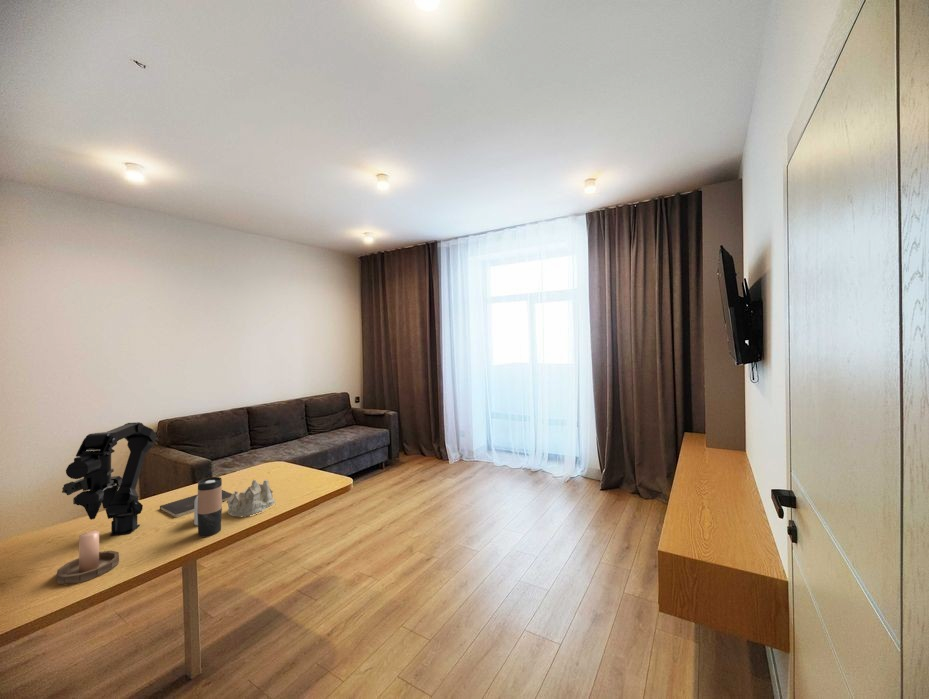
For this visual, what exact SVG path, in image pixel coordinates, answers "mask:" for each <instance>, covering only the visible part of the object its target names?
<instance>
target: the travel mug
mask: <svg viewBox="0 0 929 699" xmlns="http://www.w3.org/2000/svg"><path fill="white" fill-rule="evenodd" d="M222 482H223V480H222V477H219V476H218V477H217V476H215V477H214V476H212V477H207V478H204V479H201V480H199V481H198V482H197V494H198V510H197V514H198V525H197V534H198V537H201V538H205V537H210V536H214V535H217V534H218V533H220V532H221V530H222V514H223V513H222V511H223V502H222V490H223V489H222V488H223V485H222V484H223V483H222Z"/></svg>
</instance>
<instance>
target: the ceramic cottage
mask: <svg viewBox="0 0 929 699" xmlns="http://www.w3.org/2000/svg"><path fill="white" fill-rule="evenodd" d="M269 484H270V483H269V479H264V480H263V482H262V483H259V482H258V481H257V479H253V480H252V481H251V485H250V486H248V487H247V488H246V489H245V490H243V491H241V492H239V491H238V490H234V493H231V494H232V495H231V497H230V498H229V499H228V500H227V501H226V504H227V506H228V509H227V513H228V514H227V515H229V514H230V516H231V515H232V516H231V517H233V516H237V517H236V518H242V517H241V516H250V515H253V514H256V513H259V512H262V511H263V510H265V509H266V508H268V507H270V506H272V505H273V504H274V503H275V504H276V501H275V499H274V497H273V492H274V491H273V490H272V489H271V488H270V485H269Z"/></svg>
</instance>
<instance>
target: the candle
mask: <svg viewBox="0 0 929 699" xmlns="http://www.w3.org/2000/svg"><path fill="white" fill-rule="evenodd" d="M78 549H79V550H78V558H79V572H80V573H83V572H87V571H90V570H93V569H96V568H98V567H99V552H100V530H91V531H87V532H84V533H82V534H80V535H79V536H78Z"/></svg>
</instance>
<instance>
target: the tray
mask: <svg viewBox="0 0 929 699" xmlns="http://www.w3.org/2000/svg"><path fill="white" fill-rule="evenodd" d="M119 562H120V552H119V551H115V550H104V551H99V567H98V568H96V569H93V570H90V571H87V572H83V573H80V572H79V557H78V558H75V559H73V560H71V561H69V562H67V563H65V564H64V565H62V566H61V567H59V568H58V569H57V570H56V574H55V575H56V577H55V580H56V583H57V584H58V585H64V584H67V585H74V584H79V583H83V582H87V581H90V580H93V579H95V578H98V577H101V576H103V575H104V574H106V573H108V572H110V571H112V570H114V568H116V567H117V566H118V565H119Z"/></svg>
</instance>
